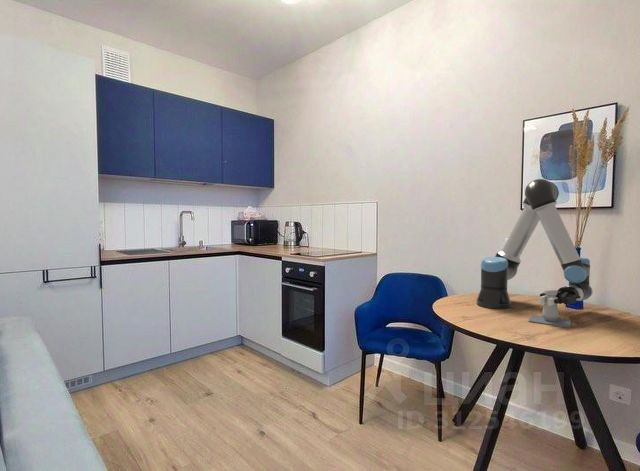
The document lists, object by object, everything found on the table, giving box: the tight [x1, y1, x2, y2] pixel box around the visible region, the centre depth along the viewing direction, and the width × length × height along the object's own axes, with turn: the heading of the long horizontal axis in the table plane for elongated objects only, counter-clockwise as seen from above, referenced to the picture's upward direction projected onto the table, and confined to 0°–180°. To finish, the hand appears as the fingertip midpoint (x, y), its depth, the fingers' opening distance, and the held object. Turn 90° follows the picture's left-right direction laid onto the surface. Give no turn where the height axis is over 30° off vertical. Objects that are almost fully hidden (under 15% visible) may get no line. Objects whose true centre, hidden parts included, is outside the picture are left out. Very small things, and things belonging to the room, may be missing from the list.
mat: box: [528, 314, 572, 329], centre depth 142 cm, size 14×12×1 cm
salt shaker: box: [541, 288, 560, 322], centre depth 142 cm, size 6×6×13 cm
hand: (544, 301), depth 139 cm, fingers closed on salt shaker, 3 cm apart
